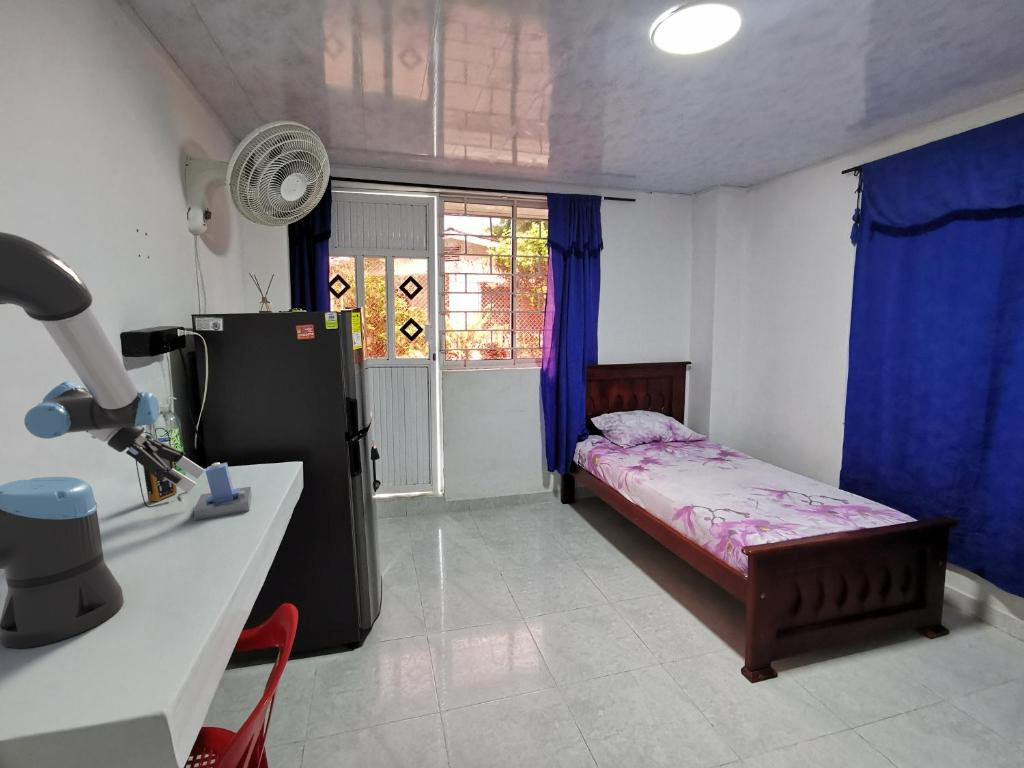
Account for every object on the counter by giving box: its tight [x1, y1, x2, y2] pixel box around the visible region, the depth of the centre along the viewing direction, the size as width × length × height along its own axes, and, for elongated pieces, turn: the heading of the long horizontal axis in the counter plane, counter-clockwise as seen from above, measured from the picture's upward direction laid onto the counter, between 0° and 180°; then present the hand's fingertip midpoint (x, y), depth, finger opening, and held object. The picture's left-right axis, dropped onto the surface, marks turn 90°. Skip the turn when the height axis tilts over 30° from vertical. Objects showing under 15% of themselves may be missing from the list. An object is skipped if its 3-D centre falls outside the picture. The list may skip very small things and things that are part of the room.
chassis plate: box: [193, 486, 253, 521], centre depth 132 cm, size 14×12×3 cm
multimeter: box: [135, 427, 188, 508], centre depth 140 cm, size 15×10×20 cm
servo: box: [205, 462, 241, 503], centre depth 131 cm, size 4×8×12 cm, turn 115°
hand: (197, 481), depth 129 cm, fingers open, 13 cm apart
